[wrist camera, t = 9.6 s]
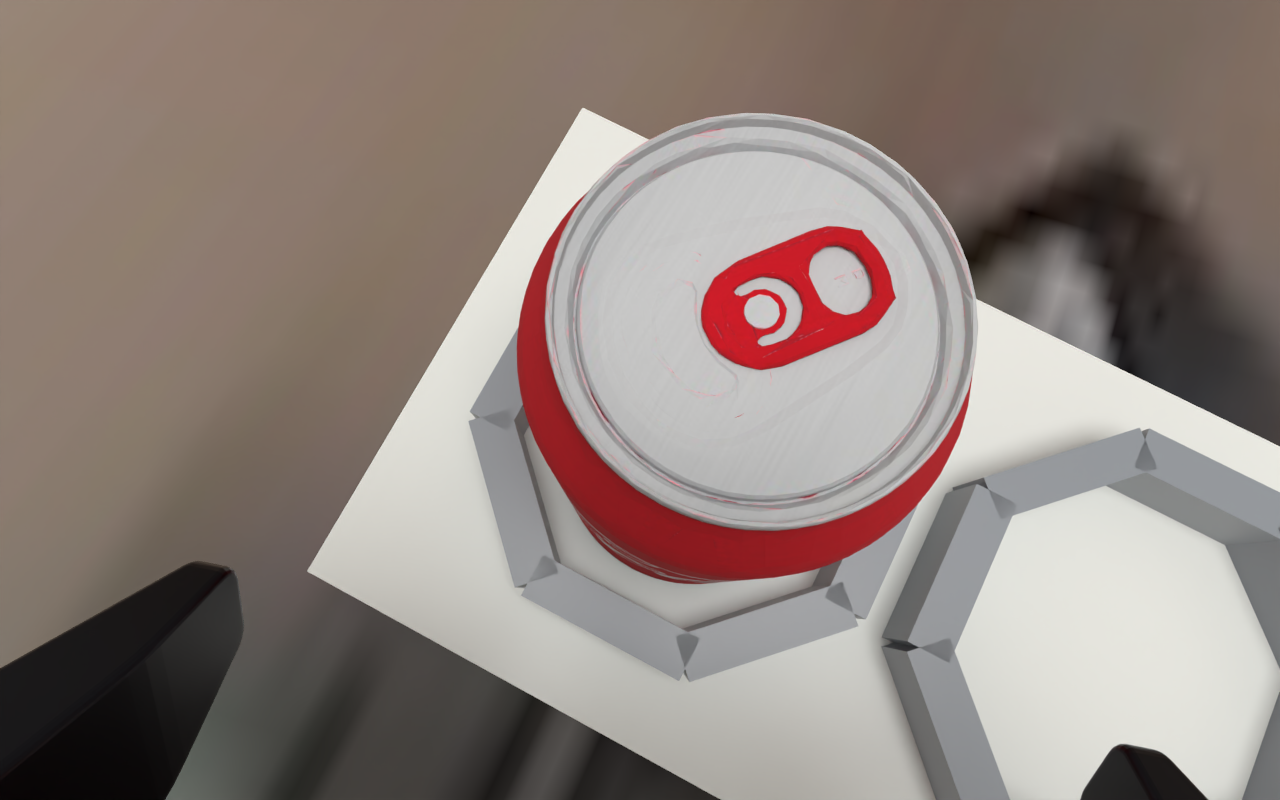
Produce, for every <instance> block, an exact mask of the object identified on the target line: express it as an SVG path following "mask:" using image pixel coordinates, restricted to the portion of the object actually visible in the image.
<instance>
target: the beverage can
mask: <svg viewBox="0 0 1280 800" xmlns="http://www.w3.org/2000/svg"><path fill="white" fill-rule="evenodd" d="M977 336H978V319H977V305H976V296H975V291H974V287H973V282H972V278H971V274H970V271H969V267H968V263H967V260H966V258H965V255H964V253H963V250H962V248H961V245H960V243H959V241H958V239H957V237H956V235H955V233H954V230H953V228H952V226H951V225H950V223H949V222H948V220H947V219H946V217H945V216H944V214H943V213H942V211H941V210H940V208H939V207H938V205H937V204H936V202H935V201H934V200H933V199H932V198H931V197H930V196H929V194H928V193H927V192H926V191H925V190H924V189H923V188H922V186H921V185H920V184H919V183H918V182H917V181H916V180H915V179H914V178H913V177H912V176H911V175H910V174H909V173H908V172H907V171H905V170H904V169H903V168H902V167H901V166H900V165H899V164H898V163H896V162H895V161H894V160H892V159H891V158H889V157H888V156H886V155H885V154H883V153H882V152H881V151H879V150H878V149H876V148H875V147H873V146H872V145H870V144H868V143H866V142H865V141H863V140H861V139H859V138H857V137H855V136H853V135H851V134H849V133H847V132H845V131H842V130H839V129H836V128H833V127H830V126H827V125H824V124H821V123H818V122H815V121H812V120H809V119H804V118H798V117H791V116H784V115H777V114H759V113H741V114H733V115H725V116H717V117H710V118H705V119H702V120H698V121H695V122H691V123H688V124H684V125H681V126H677V127H675V128H673V129H671V130H669V131H667V132H664V133H662V134H660V135H658V136H656V137H654V138H652V139H650V140H648V141H646V142H644V143H643V144H641V145H640V146H638V147H637V148H635V149H634V150H632V151H631V152H629V153H628V154H626V155H625V156H624V157H622V158H621V159H620V160H619V161H618V162H616V163H615V164H614V165H613V166H612V167H611V168H610V169H609V170H608V171H607V172H606V173H604V174H603V175H602V176H601V177H600V178H599V179H598V181H597V182H596V183H595V184H594V185H593V186H592V187H591V189H590V190H589V191H588V192H587V193H586V194H585V195H584V196H583V197H582V198H580V199H579V200H578V201H577V202H576V203H575V205H574V206H573V207H572V208H571V209H570V211H569V212H568V213H567V214H566V215H565V217H564V218H563V219H562V220H561V222H560V223H559V225H558V226H557V228H556V229H555V231H554V232H553V234H552V235H551V237H550V238H549V240H548V241H547V242H546V244H545V246H544V249H543V251H542V253H541V255H540V257H539V259H538V261H537V263H536V265H535V267H534V269H533V272H532V274H531V277H530V280H529V283H528V286H527V289H526V292H525V296H524V300H523V304H522V308H521V312H520V319H519V326H518V334H517V372H518V380H519V387H520V393H521V398H522V403H523V407H524V410H525V414H526V417H527V420H528V423H529V426H530V428H531V431H532V434H533V436H534V439H535V441H536V443H537V445H538V447H539V449H540V451H541V453H542V455H543V457H544V459H545V461H546V463H547V464H548V466H549V468H550V469H551V471H552V473H553V474H554V476H555V477H556V479H557V481H558V482H559V484H560V486H561V487H562V489H563V491H564V492H565V494H566V496H567V497H568V499H569V501H570V502H571V504H572V505H573V507H574V509H575V510H576V512H577V514H578V515H579V517H580V519H581V520H582V522H583V523H584V525H585V526H586V528H587V529H588V531H589V532H590V533H591V534H592V536H593V537H594V538H595V539H596V541H597V542H598V543H599V544H600V545H601V546H602V547H603V548H604V549H605V550H607V551H608V552H609V553H610V554H611V555H612V556H614V557H615V558H616V559H618V560H619V561H620V562H622V563H624V564H625V565H627V566H629V567H630V568H632V569H634V570H636V571H638V572H640V573H643V574H645V575H648V576H650V577H653V578H656V579H660V580H664V581H668V582H674V583H682V584H707V583H718V582H730V581H741V580H753V579H764V578H776V577H782V576H788V575H793V574H799V573H803V572H807V571H811V570H815V569H818V568H821V567H824V566H827V565H830V564H832V563H835V562H837V561H839V560H842V559H844V558H847V557H849V556H851V555H853V554H854V553H856V552H858V551H860V550H862V549H864V548H865V547H867V546H869V545H871V544H872V543H873V542H875V541H876V540H878V539H879V538H881V537H882V536H883V535H885V534H886V533H887V532H889V531H890V530H891V529H892V528H894V527H895V526H896V525H897V524H899V523H900V522H901V521H902V520H903V519H904V518H905V517H906V516H907V515H908V514H909V513H910V512H911V511H912V510H913V509H914V508H915V507H916V506H917V505H918V503H919V502H920V501H921V500H922V498H923V497H924V496H925V495H926V493H927V492H928V491H929V490H930V488H931V487H932V485H933V484H934V483H935V481H936V480H937V478H938V477H939V476H940V474H941V472H942V470H943V468H944V466H945V464H946V463H947V461H948V459H949V457H950V455H951V452H952V450H953V448H954V446H955V444H956V442H957V440H958V438H959V435H960V432H961V429H962V426H963V422H964V419H965V415H966V412H967V409H968V404H969V397H970V390H971V383H972V375H973V370H974V364H975V357H976V348H977Z"/></svg>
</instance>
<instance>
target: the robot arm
mask: <svg viewBox="0 0 1280 800" xmlns="http://www.w3.org/2000/svg"><path fill="white" fill-rule="evenodd" d="M243 629H244V620H243V613H242V606H241V598H240V591H239V584H238V578H237V574H236V573H235V571H234V570H233V569H232V568H230V567H227V566H222V565H217V564H212V563H207V562H201V561H195V562H191V563H188V564H186V565H184V566H182V567H180V568H178V569H177V570H175V571H173V572H171V573H169V574H168V575H166V576H164V577H162V578H161V579H159V580H157V581H155V582H153V583H152V584H150V585H148V586H146V587H144V588H143V589H141V590H139V591H137V592H136V593H134V594H132V595H130V596H128V597H127V598H125V599H123V600H121V601H120V602H118V603H116V604H114V605H112V606H111V607H109V608H107V609H105V610H103V611H102V612H100V613H98V614H96V615H95V616H93V617H91V618H89V619H87V620H86V621H84V622H82V623H80V624H78V625H77V626H75V627H73V628H71V629H70V630H68V631H66V632H64V633H62V634H61V635H59V636H57V637H55V638H54V639H52V640H50V641H48V642H46V643H45V644H43V645H41V646H39V647H37V648H36V649H34V650H32V651H30V652H29V653H27V654H25V655H23V656H21V657H20V658H18V659H16V660H14V661H12V662H11V663H9V664H7V665H5V666H4V667H2V668H0V800H165V799H166V797H167V795H168V794H169V792H170V790H171V788H172V787H173V785H174V783H175V781H176V779H177V777H178V775H179V773H180V771H181V769H182V767H183V765H184V763H185V761H186V759H187V757H188V755H189V752H190V750H191V748H192V746H193V744H194V742H195V740H196V737H197V735H198V733H199V731H200V729H201V727H202V725H203V722H204V720H205V718H206V716H207V714H208V712H209V710H210V707H211V705H212V703H213V701H214V699H215V697H216V695H217V692H218V690H219V688H220V686H221V684H222V682H223V680H224V677H225V675H226V673H227V671H228V669H229V667H230V665H231V662H232V660H233V658H234V656H235V654H236V652H237V650H238V647H239V645H240V642H241V639H242V635H243ZM1080 800H1208V799H1207V798H1206V797H1205V795H1204V794H1203V793H1202V792H1201V791H1200V790H1199V789H1198V788H1197V787H1196V786H1195V785H1194V784H1193V783H1192V782H1191V781H1190V779H1189V778H1188V777H1187V776H1186V775H1185V774H1184V773H1183V772H1182V771H1181V770H1180V769H1179V768H1178V767H1177V766H1176V765H1175V764H1174V762H1173V761H1172V760H1171V759H1169V758H1168V757H1167V756H1166V755H1165V754H1163V753H1162V752H1160V751H1157V750H1154V749H1149V748H1144V747H1139V746H1134V745H1129V744H1119V745H1117V746H1115V747H1113V748H1112V749H1111V750H1110V751H1109V753H1108V754H1107V756H1106V757H1105V759H1104V760H1103V762H1102V763H1101V765H1100V766H1099V768H1098V769H1097V770H1096V772H1095V773H1094V775H1093V776H1092V778H1091V779H1090V781H1089V782H1088V784H1087V785H1086V787H1085V788H1084V790H1083V792H1082V795H1081V799H1080Z"/></svg>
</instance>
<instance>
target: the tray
mask: <svg viewBox="0 0 1280 800" xmlns="http://www.w3.org/2000/svg"><path fill="white" fill-rule="evenodd" d="M646 141H648V139H646V138H644V137H642V136H640V135H638V134H636V133H634V132H632V131H630V130H628V129H625V128H623V127H621V126H619V125H617V124H615V123H613V122H611V121H609V120H607V119H605V118H603V117H601V116H599V115H597V114H595V113H593V112H591V111H588V110H586V109H584V108H582V110H581V111H580V113H579V115H578V116H577V118H576V120H575V121H574V123H573V125H572V126H571V128H570V130H569V131H568V133H567V135H566V136H565V138H564V140H563V141H562V143H561V145H560V147H559V148H558V150H557V152H556V153H555V155H554V157H553V158H552V160H551V162H550V163H549V165H548V167H547V168H546V170H545V172H544V173H543V175H542V177H541V178H540V180H539V182H538V184H537V185H536V187H535V189H534V190H533V192H532V194H531V195H530V197H529V199H528V200H527V202H526V204H525V205H524V207H523V209H522V210H521V212H520V214H519V216H518V217H517V219H516V221H515V222H514V224H513V226H512V227H511V229H510V231H509V232H508V234H507V236H506V237H505V239H504V241H503V242H502V244H501V246H500V247H499V249H498V251H497V253H496V254H495V256H494V258H493V259H492V261H491V263H490V264H489V266H488V268H487V269H486V271H485V273H484V274H483V276H482V278H481V279H480V281H479V283H478V284H477V286H476V288H475V290H474V291H473V293H472V295H471V296H470V298H469V300H468V301H467V303H466V305H465V306H464V308H463V310H462V311H461V313H460V315H459V316H458V318H457V320H456V322H455V323H454V325H453V327H452V328H451V330H450V332H449V333H448V335H447V337H446V338H445V340H444V342H443V343H442V345H441V347H440V348H439V350H438V352H437V353H436V355H435V357H434V359H433V360H432V362H431V364H430V365H429V367H428V369H427V370H426V372H425V374H424V375H423V377H422V379H421V380H420V382H419V384H418V385H417V387H416V389H415V391H414V392H413V394H412V396H411V397H410V399H409V401H408V402H407V404H406V406H405V407H404V409H403V411H402V412H401V414H400V416H399V417H398V419H397V421H396V422H395V424H394V426H393V428H392V429H391V431H390V433H389V434H388V436H387V438H386V439H385V441H384V443H383V444H382V446H381V448H380V449H379V451H378V453H377V454H376V456H375V458H374V459H373V461H372V463H371V465H370V466H369V468H368V470H367V471H366V473H365V475H364V476H363V478H362V480H361V481H360V483H359V485H358V486H357V488H356V490H355V491H354V493H353V495H352V497H351V498H350V500H349V502H348V503H347V505H346V507H345V508H344V510H343V512H342V513H341V515H340V517H339V518H338V520H337V522H336V523H335V525H334V527H333V528H332V530H331V532H330V534H329V535H328V537H327V539H326V540H325V542H324V544H323V545H322V547H321V549H320V550H319V552H318V554H317V555H316V557H315V559H314V560H313V562H312V564H311V566H310V567H309V569H308V571H307V572H309V573H311V574H313V575H315V576H316V577H318V578H320V579H322V580H324V581H326V582H327V583H329V584H331V585H333V586H335V587H336V588H338V589H340V590H342V591H344V592H345V593H347V594H349V595H351V596H353V597H355V598H356V599H358V600H360V601H362V602H364V603H365V604H367V605H369V606H371V607H373V608H374V609H376V610H378V611H380V612H382V613H384V614H385V615H387V616H389V617H391V618H393V619H394V620H396V621H398V622H400V623H402V624H403V625H405V626H407V627H409V628H411V629H413V630H414V631H416V632H418V633H420V634H422V635H423V636H425V637H427V638H429V639H431V640H432V641H434V642H436V643H438V644H440V645H442V646H443V647H445V648H447V649H449V650H451V651H452V652H454V653H456V654H458V655H460V656H461V657H463V658H465V659H467V660H469V661H470V662H472V663H474V664H476V665H478V666H480V667H481V668H483V669H485V670H487V671H489V672H490V673H492V674H494V675H496V676H498V677H499V678H501V679H503V680H505V681H507V682H509V683H510V684H512V685H514V686H516V687H518V688H519V689H521V690H523V691H525V692H527V693H528V694H530V695H532V696H534V697H536V698H538V699H539V700H541V701H543V702H545V703H547V704H548V705H550V706H552V707H554V708H556V709H557V710H559V711H561V712H563V713H565V714H567V715H568V716H570V717H572V718H574V719H576V720H577V721H579V722H581V723H583V724H585V725H586V726H588V727H590V728H592V729H594V730H596V731H597V732H599V733H601V734H603V735H605V736H606V737H608V738H610V739H612V740H614V741H615V742H617V743H619V744H621V745H623V746H625V747H626V748H628V749H630V750H632V751H634V752H635V753H637V754H639V755H641V756H643V757H644V758H646V759H648V760H650V761H652V762H653V763H655V764H657V765H659V766H661V767H663V768H664V769H666V770H668V771H670V772H672V773H673V774H675V775H677V776H679V777H681V778H682V779H684V780H686V781H688V782H690V783H692V784H693V785H695V786H697V787H699V788H701V789H702V790H704V791H706V792H708V793H710V794H711V795H713V796H715V797H717V798H719V799H721V800H1080V799H1081V795H1082V792H1083V790H1084V788H1085V787H1086V785H1087V784H1088V782H1089V781H1090V779H1091V778H1092V776H1093V775H1094V773H1095V772H1096V770H1097V769H1098V768H1099V766H1100V765H1101V763H1102V762H1103V760H1104V759H1105V757H1106V756H1107V754H1108V753H1109V751H1110V750H1111V749H1112V748H1113V747H1115V746H1117V745H1119V744H1129V745H1134V746H1139V747H1144V748H1149V749H1154V750H1157V751H1160V752H1162V753H1163V754H1165V755H1166V756H1167V757H1168V758H1169V759H1171V760H1172V761H1173V762H1174V764H1175V765H1176V766H1177V767H1178V768H1179V769H1180V770H1181V771H1182V772H1183V773H1184V774H1185V775H1186V776H1187V777H1188V778H1189V779H1190V781H1191V782H1192V783H1193V784H1194V785H1195V786H1196V787H1197V788H1198V789H1199V790H1200V791H1201V792H1202V793H1203V794H1204V795H1205V797H1206V798H1207V799H1208V800H1280V447H1279V446H1277V445H1275V444H1273V443H1271V442H1269V441H1267V440H1265V439H1263V438H1261V437H1259V436H1257V435H1255V434H1253V433H1251V432H1249V431H1247V430H1245V429H1242V428H1240V427H1238V426H1236V425H1234V424H1232V423H1230V422H1228V421H1226V420H1224V419H1222V418H1220V417H1218V416H1216V415H1214V414H1212V413H1210V412H1207V411H1205V410H1203V409H1201V408H1199V407H1197V406H1195V405H1193V404H1191V403H1189V402H1187V401H1185V400H1183V399H1181V398H1179V397H1177V396H1175V395H1173V394H1170V393H1168V392H1166V391H1164V390H1162V389H1160V388H1158V387H1156V386H1154V385H1152V384H1150V383H1148V382H1146V381H1144V380H1142V379H1140V378H1138V377H1136V376H1133V375H1131V374H1129V373H1127V372H1125V371H1123V370H1121V369H1119V368H1117V367H1115V366H1113V365H1111V364H1109V363H1107V362H1105V361H1103V360H1101V359H1098V358H1096V357H1094V356H1092V355H1090V354H1088V353H1086V352H1084V351H1082V350H1080V349H1078V348H1076V347H1074V346H1072V345H1070V344H1068V343H1066V342H1064V341H1061V340H1059V339H1057V338H1055V337H1053V336H1051V335H1049V334H1047V333H1045V332H1043V331H1041V330H1039V329H1037V328H1035V327H1033V326H1031V325H1029V324H1027V323H1024V322H1022V321H1020V320H1018V319H1016V318H1014V317H1012V316H1010V315H1008V314H1006V313H1004V312H1002V311H1000V310H998V309H996V308H994V307H992V306H989V305H987V304H985V303H983V302H981V301H979V300H977V299H976V305H977V319H978V336H977V348H976V357H975V364H974V370H973V375H972V383H971V390H970V397H969V404H968V409H967V412H966V415H965V419H964V422H963V426H962V429H961V432H960V435H959V438H958V440H957V442H956V444H955V446H954V448H953V450H952V452H951V455H950V457H949V459H948V461H947V463H946V464H945V466H944V468H943V470H942V472H941V474H940V476H939V477H938V478H937V480H936V481H935V483H934V484H933V485H932V487H931V488H930V490H929V491H928V492H927V493H926V495H925V496H924V497H923V498H922V500H921V501H920V502H919V503H918V505H917V506H916V507H915V508H914V509H913V510H912V511H911V512H910V513H909V514H908V515H907V516H906V517H905V518H904V519H903V520H902V521H901V522H900V523H899V524H897V525H896V526H895V527H894V528H892V529H891V530H890V531H889V532H887V533H886V534H885V535H883V536H882V537H881V538H879V539H878V540H876V541H875V542H873V543H872V544H871V545H869V546H867V547H865V548H864V549H862V550H860V551H858V552H856V553H854V554H853V555H851V556H849V557H847V558H844V559H842V560H839V561H837V562H835V563H832V564H830V565H827V566H824V567H821V568H818V569H815V570H811V571H807V572H803V573H799V574H793V575H788V576H782V577H776V578H764V579H753V580H741V581H730V582H718V583H707V584H682V583H674V582H668V581H664V580H660V579H656V578H653V577H650V576H648V575H645V574H643V573H640V572H638V571H636V570H634V569H632V568H630V567H629V566H627V565H625V564H624V563H622V562H620V561H619V560H618V559H616V558H615V557H614V556H612V555H611V554H610V553H609V552H608V551H607V550H605V549H604V548H603V547H602V546H601V545H600V544H599V543H598V542H597V541H596V539H595V538H594V537H593V536H592V534H591V533H590V532H589V531H588V529H587V528H586V526H585V525H584V523H583V522H582V520H581V519H580V517H579V515H578V514H577V512H576V510H575V509H574V507H573V505H572V504H571V502H570V501H569V499H568V497H567V496H566V494H565V492H564V491H563V489H562V487H561V486H560V484H559V482H558V481H557V479H556V477H555V476H554V474H553V473H552V471H551V469H550V468H549V466H548V464H547V463H546V461H545V459H544V457H543V455H542V453H541V451H540V449H539V447H538V445H537V443H536V441H535V439H534V436H533V434H532V431H531V428H530V426H529V423H528V420H527V417H526V414H525V410H524V407H523V403H522V398H521V393H520V387H519V380H518V372H517V334H518V326H519V319H520V312H521V308H522V304H523V300H524V296H525V292H526V289H527V286H528V283H529V280H530V277H531V274H532V272H533V269H534V267H535V265H536V263H537V261H538V259H539V257H540V255H541V253H542V251H543V249H544V246H545V244H546V242H547V241H548V240H549V238H550V237H551V235H552V234H553V232H554V231H555V229H556V228H557V226H558V225H559V223H560V222H561V220H562V219H563V218H564V217H565V215H566V214H567V213H568V212H569V211H570V209H571V208H572V207H573V206H574V205H575V203H576V202H577V201H578V200H579V199H580V198H582V197H583V196H584V195H585V194H586V193H587V192H588V191H589V190H590V189H591V187H592V186H593V185H594V184H595V183H596V182H597V181H598V179H599V178H600V177H601V176H602V175H603V174H604V173H606V172H607V171H608V170H609V169H610V168H611V167H612V166H613V165H614V164H615V163H616V162H618V161H619V160H620V159H621V158H622V157H624V156H625V155H626V154H628V153H629V152H631V151H632V150H634V149H635V148H637V147H638V146H640V145H641V144H643V143H644V142H646Z"/></svg>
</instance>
